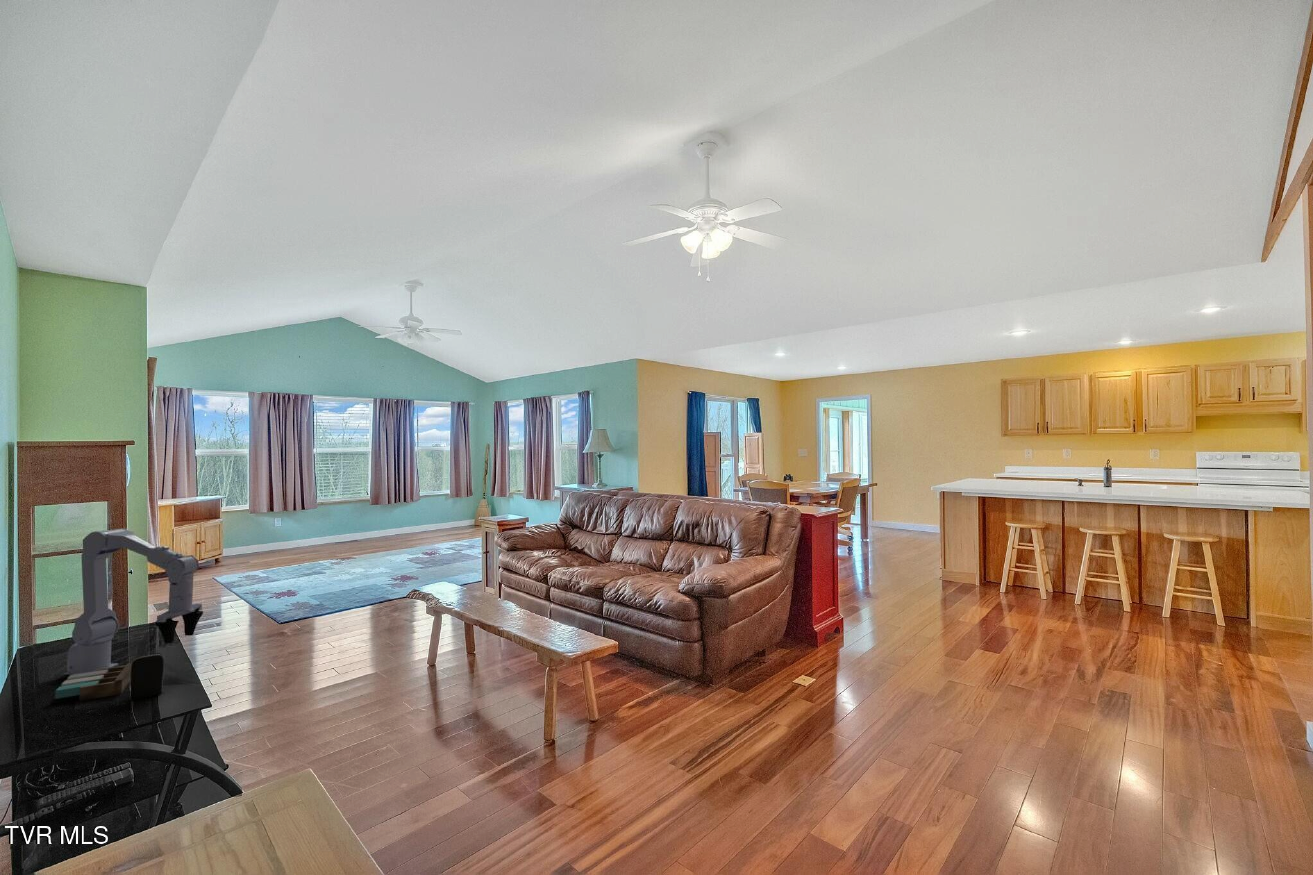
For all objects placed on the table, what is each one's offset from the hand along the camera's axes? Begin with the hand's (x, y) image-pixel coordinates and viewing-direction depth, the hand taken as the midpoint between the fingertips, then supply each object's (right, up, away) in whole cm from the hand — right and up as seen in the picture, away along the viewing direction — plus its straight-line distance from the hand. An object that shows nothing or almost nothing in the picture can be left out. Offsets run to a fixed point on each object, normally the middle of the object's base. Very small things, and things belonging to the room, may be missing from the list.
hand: (179, 638), depth 177 cm
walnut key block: (-9, -9, -14) cm, 19 cm away
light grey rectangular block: (-16, -8, -12) cm, 22 cm away
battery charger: (+7, -9, -19) cm, 22 cm away
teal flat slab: (-11, -8, -21) cm, 24 cm away
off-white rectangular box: (-14, -8, -16) cm, 23 cm away
